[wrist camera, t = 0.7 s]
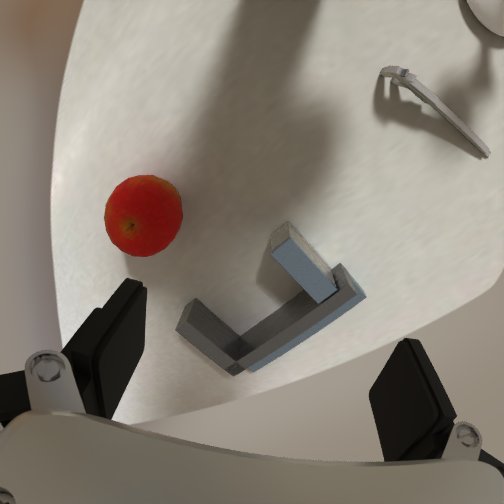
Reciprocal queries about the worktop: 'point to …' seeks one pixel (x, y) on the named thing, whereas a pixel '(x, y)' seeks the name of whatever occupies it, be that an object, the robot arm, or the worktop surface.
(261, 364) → the bracket
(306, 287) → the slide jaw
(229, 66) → the worktop surface
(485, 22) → the flower in vase
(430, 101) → the caliper
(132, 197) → the apple
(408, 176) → the worktop surface
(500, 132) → the worktop surface
